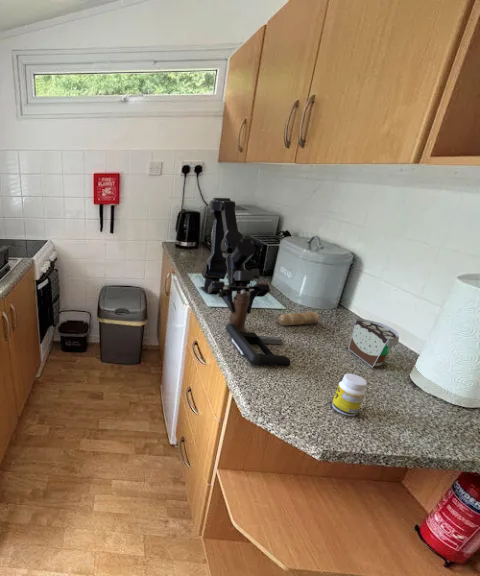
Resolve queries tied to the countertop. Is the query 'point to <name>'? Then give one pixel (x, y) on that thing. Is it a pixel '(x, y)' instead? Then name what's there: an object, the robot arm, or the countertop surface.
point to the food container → (372, 341)
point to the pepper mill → (240, 309)
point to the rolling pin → (299, 318)
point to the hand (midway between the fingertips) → (240, 312)
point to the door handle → (250, 338)
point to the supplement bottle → (349, 394)
